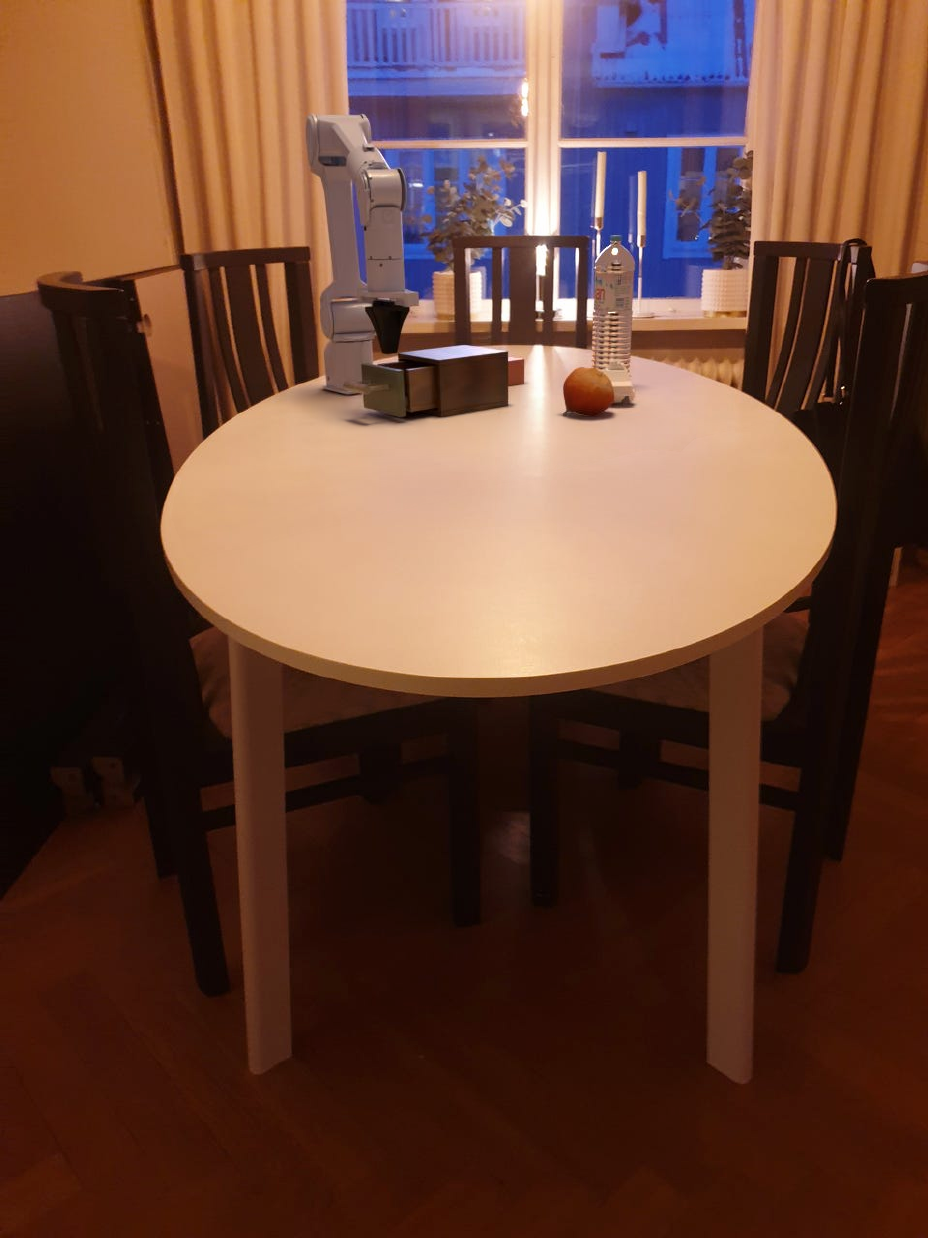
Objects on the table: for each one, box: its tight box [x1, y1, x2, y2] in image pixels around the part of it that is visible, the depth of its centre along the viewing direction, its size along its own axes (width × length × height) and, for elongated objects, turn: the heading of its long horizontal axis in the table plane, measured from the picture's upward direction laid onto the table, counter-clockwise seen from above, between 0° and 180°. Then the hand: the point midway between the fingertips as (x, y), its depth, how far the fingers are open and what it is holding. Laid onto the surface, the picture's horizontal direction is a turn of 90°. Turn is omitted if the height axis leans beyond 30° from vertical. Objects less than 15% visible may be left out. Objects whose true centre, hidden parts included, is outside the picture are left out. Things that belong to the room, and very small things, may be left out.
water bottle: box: [590, 234, 636, 375], centre depth 156 cm, size 7×7×25 cm
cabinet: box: [397, 344, 509, 418], centre depth 146 cm, size 14×12×9 cm
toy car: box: [604, 359, 636, 404], centre depth 148 cm, size 6×12×7 cm, turn 175°
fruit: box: [562, 366, 614, 418], centre depth 138 cm, size 8×8×8 cm
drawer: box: [343, 360, 438, 418], centre depth 141 cm, size 17×10×7 cm, turn 127°
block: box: [508, 356, 525, 387], centre depth 166 cm, size 4×4×4 cm
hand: (389, 353), depth 140 cm, fingers closed
